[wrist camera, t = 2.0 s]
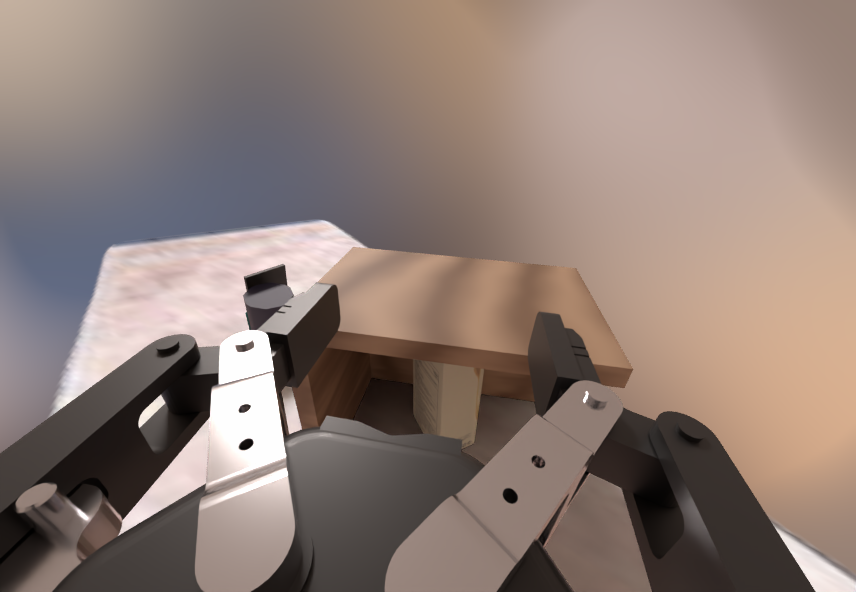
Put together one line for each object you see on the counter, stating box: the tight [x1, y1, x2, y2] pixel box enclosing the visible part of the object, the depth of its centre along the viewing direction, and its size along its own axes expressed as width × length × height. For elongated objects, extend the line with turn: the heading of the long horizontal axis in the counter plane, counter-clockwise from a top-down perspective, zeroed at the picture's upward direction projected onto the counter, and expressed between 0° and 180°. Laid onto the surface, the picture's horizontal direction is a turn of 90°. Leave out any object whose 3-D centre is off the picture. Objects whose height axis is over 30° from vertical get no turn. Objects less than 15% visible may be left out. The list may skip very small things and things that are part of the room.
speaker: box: [243, 264, 294, 331], centre depth 43 cm, size 8×6×10 cm
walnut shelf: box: [292, 247, 633, 430], centre depth 30 cm, size 22×14×16 cm, turn 81°
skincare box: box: [413, 359, 484, 449], centre depth 31 cm, size 6×4×12 cm
